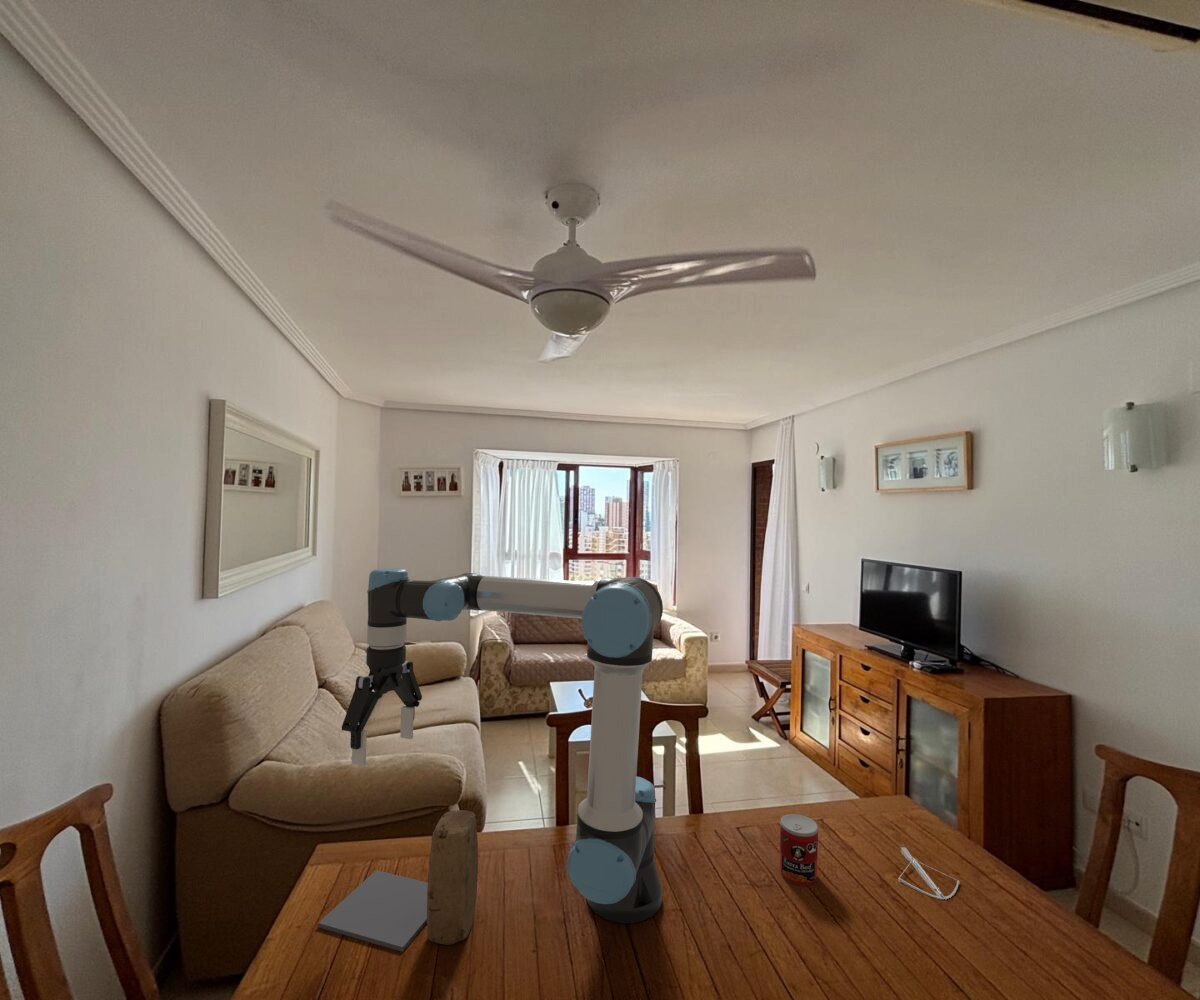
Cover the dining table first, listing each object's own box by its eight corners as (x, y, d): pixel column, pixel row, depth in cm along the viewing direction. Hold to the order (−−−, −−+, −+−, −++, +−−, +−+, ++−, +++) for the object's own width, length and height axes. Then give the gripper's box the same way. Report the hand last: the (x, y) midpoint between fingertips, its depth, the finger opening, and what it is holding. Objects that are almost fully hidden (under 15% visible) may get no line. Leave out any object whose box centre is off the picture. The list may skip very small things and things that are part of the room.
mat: (452, 892, 114) (452, 888, 114) (402, 951, 98) (402, 947, 98) (376, 873, 119) (376, 870, 119) (318, 927, 103) (318, 922, 103)
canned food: (778, 880, 120) (779, 828, 120) (781, 859, 127) (782, 810, 128) (816, 890, 117) (817, 837, 117) (817, 868, 125) (818, 818, 125)
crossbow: (974, 907, 115) (975, 897, 115) (911, 904, 116) (912, 894, 116) (930, 854, 131) (931, 846, 131) (875, 852, 132) (876, 843, 132)
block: (463, 951, 99) (467, 835, 99) (421, 947, 99) (425, 832, 100) (480, 907, 110) (484, 803, 110) (443, 904, 110) (446, 801, 111)
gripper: (412, 631, 128) (410, 725, 128) (322, 657, 105) (319, 773, 104) (440, 634, 125) (437, 731, 125) (354, 662, 102) (351, 780, 102)
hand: (384, 750), depth 115 cm, fingers open, 13 cm apart
